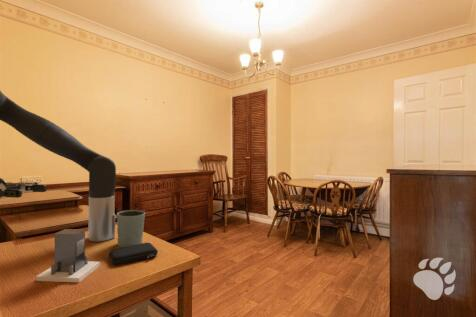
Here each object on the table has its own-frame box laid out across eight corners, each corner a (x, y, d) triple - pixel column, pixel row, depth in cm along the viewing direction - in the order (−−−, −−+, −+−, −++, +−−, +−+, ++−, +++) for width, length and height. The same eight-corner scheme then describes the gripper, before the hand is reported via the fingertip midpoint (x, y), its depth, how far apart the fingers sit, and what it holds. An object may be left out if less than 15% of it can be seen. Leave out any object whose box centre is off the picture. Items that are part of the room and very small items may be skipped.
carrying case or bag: (112, 270, 76) (160, 258, 84) (113, 260, 76) (160, 249, 84) (107, 257, 84) (150, 248, 93) (107, 248, 84) (151, 240, 93)
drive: (65, 265, 75) (65, 228, 74) (85, 265, 75) (85, 229, 74) (54, 271, 71) (54, 233, 70) (75, 272, 70) (76, 234, 70)
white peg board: (62, 264, 78) (62, 252, 78) (100, 265, 78) (100, 253, 78) (35, 280, 68) (35, 267, 68) (79, 282, 68) (79, 269, 68)
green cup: (117, 240, 99) (117, 210, 99) (144, 237, 103) (144, 209, 103) (115, 250, 90) (116, 217, 89) (145, 246, 94) (145, 215, 93)
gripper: (-50, 179, 65) (11, 181, 65) (2, 173, 80) (52, 175, 79) (-49, 207, 66) (11, 209, 65) (2, 196, 80) (52, 198, 80)
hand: (33, 190), depth 72 cm, fingers open, 8 cm apart
